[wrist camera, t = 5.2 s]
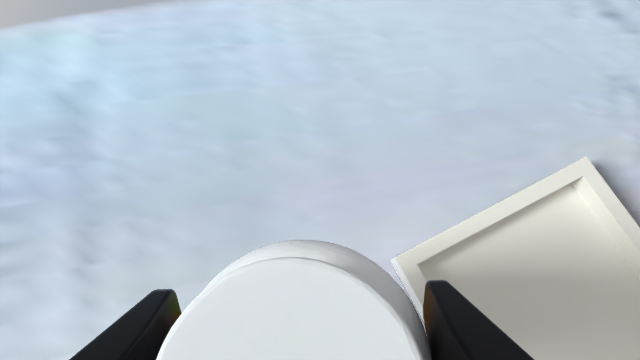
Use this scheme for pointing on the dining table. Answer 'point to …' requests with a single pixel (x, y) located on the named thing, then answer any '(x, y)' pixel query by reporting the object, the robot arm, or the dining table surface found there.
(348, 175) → the dining table surface
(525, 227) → the dish
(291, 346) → the supplement bottle
